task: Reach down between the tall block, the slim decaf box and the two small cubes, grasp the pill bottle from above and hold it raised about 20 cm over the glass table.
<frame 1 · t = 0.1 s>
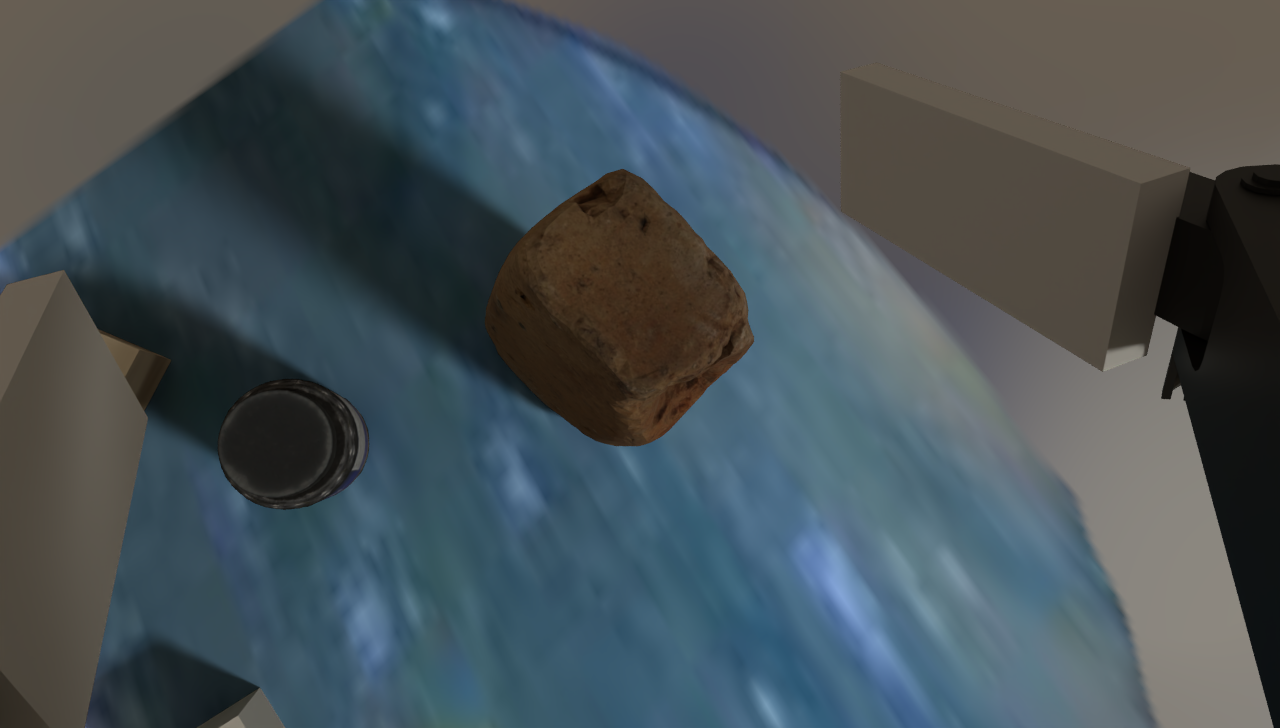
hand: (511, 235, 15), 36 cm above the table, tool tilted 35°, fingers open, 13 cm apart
birch cube: (102, 383, 45), on the table
pill bottle: (314, 444, 47), on the table
block: (576, 354, 51), on the table
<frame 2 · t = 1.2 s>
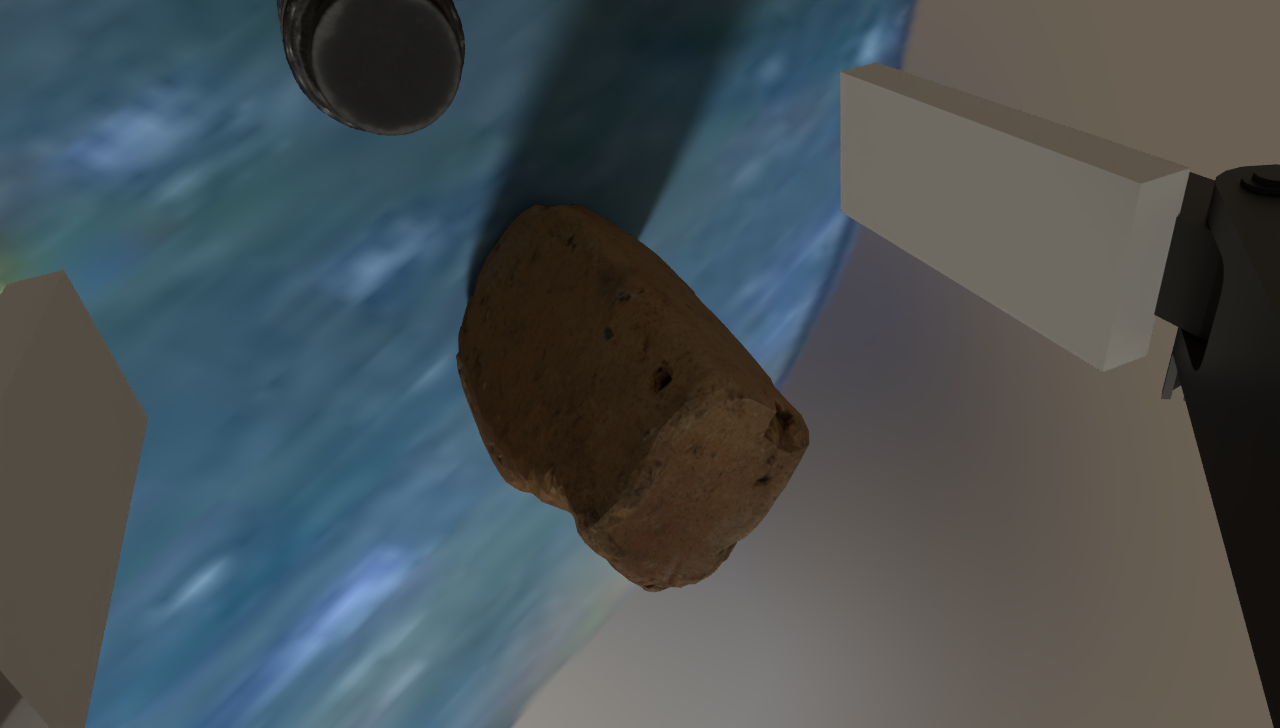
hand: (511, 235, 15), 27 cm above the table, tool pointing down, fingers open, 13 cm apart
pill bottle: (355, 11, 36), on the table
block: (537, 286, 45), on the table
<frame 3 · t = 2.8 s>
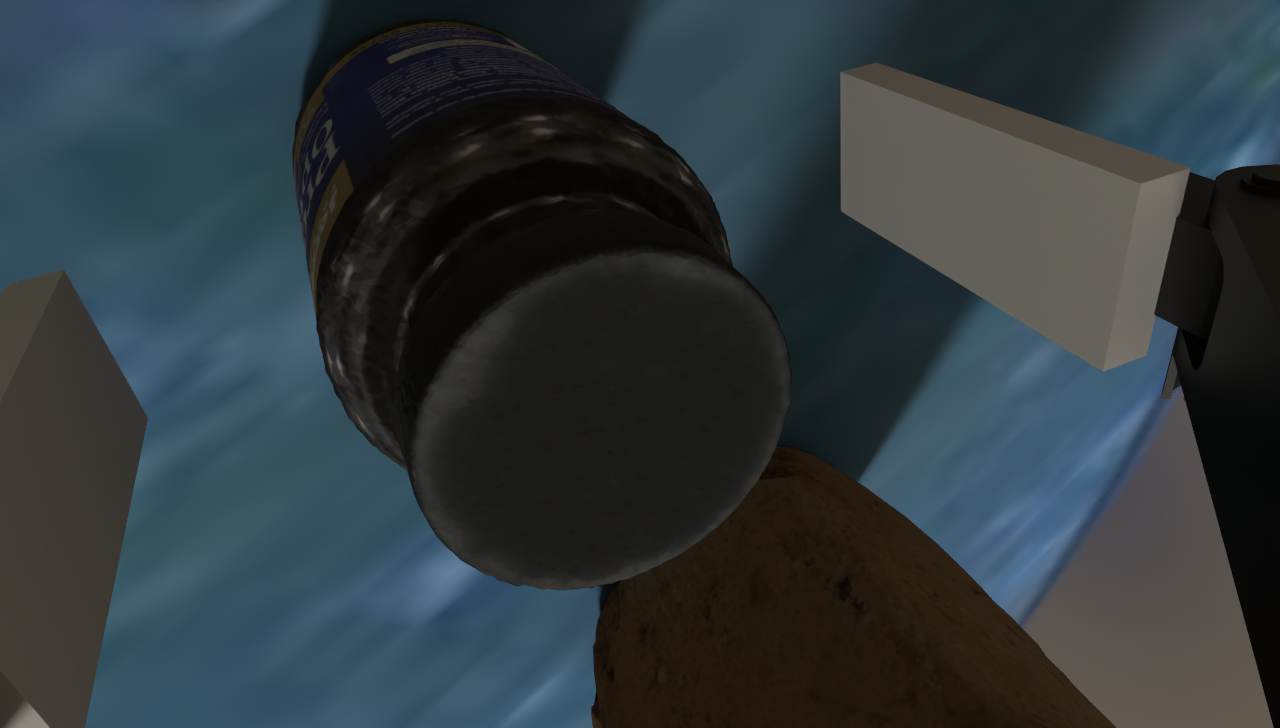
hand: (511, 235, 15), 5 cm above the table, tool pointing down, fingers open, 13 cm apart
pill bottle: (441, 162, 19), on the table
block: (706, 556, 28), on the table
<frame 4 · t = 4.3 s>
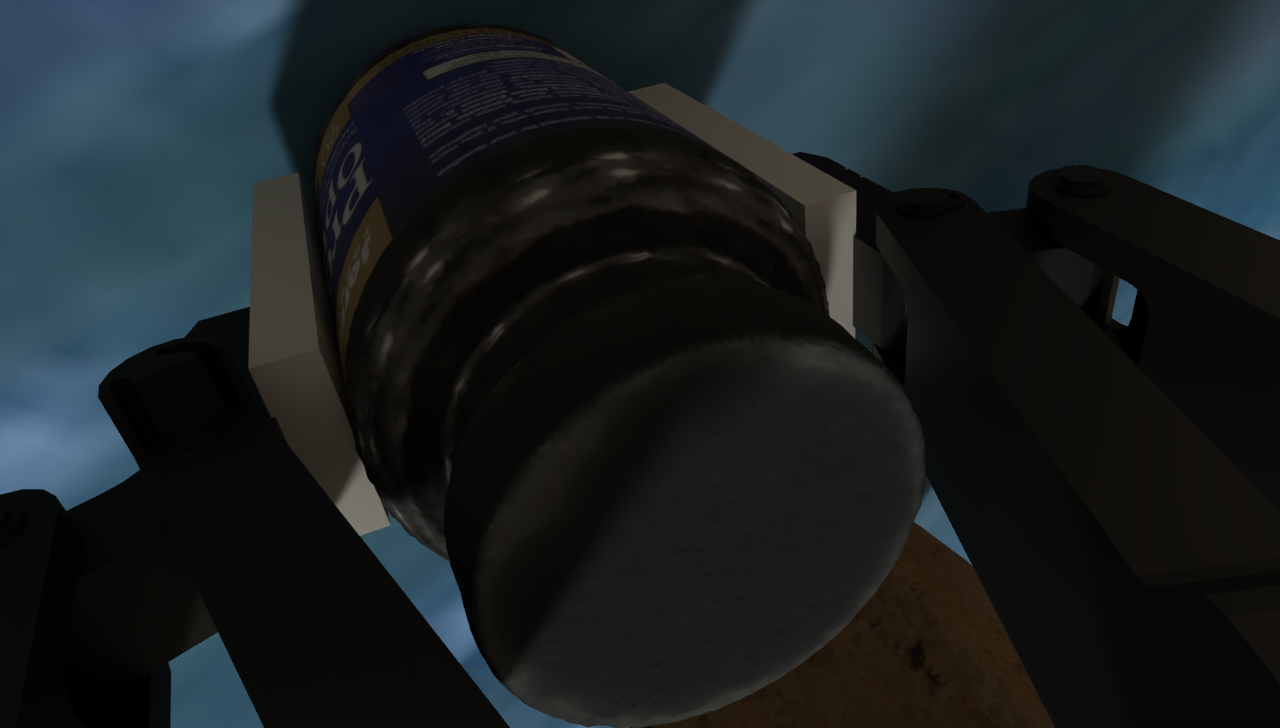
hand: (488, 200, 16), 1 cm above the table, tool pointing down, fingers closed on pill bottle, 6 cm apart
pill bottle: (476, 182, 17), on the table, touching gripper
block: (747, 596, 26), on the table
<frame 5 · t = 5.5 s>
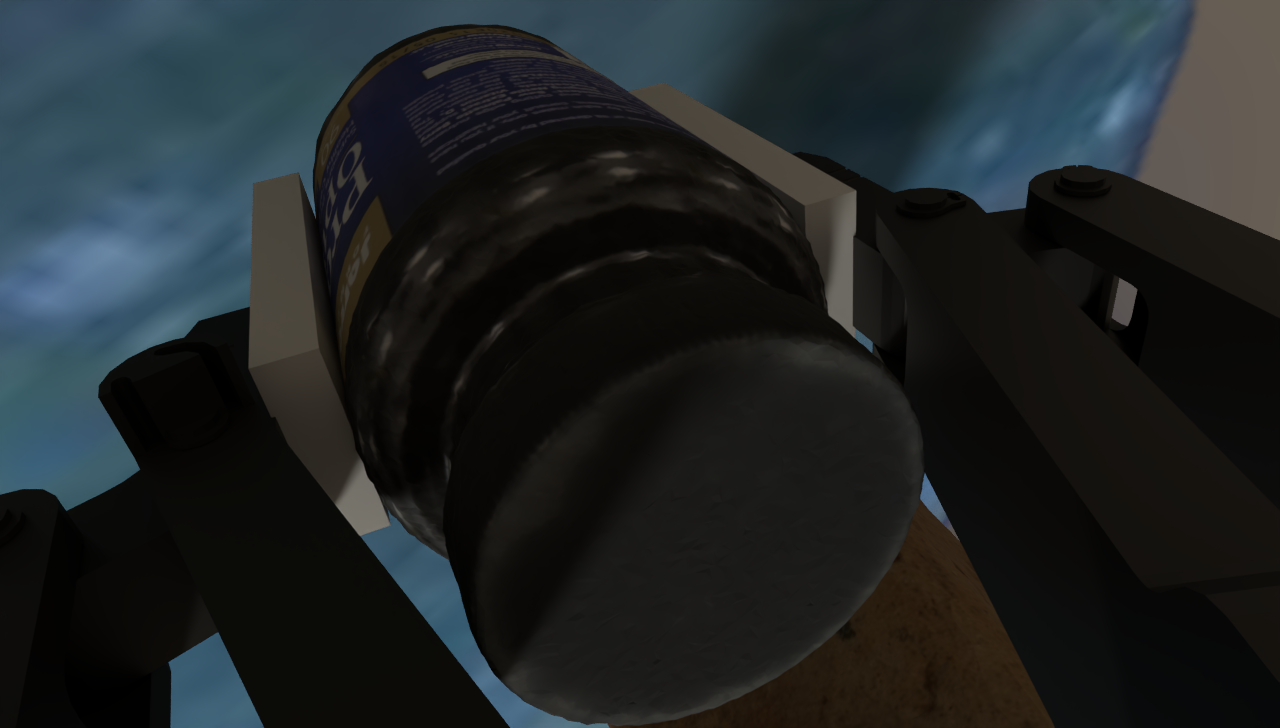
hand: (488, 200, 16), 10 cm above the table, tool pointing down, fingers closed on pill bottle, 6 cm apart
pill bottle: (476, 181, 17), point 8 cm above the table, touching gripper
block: (654, 434, 33), on the table
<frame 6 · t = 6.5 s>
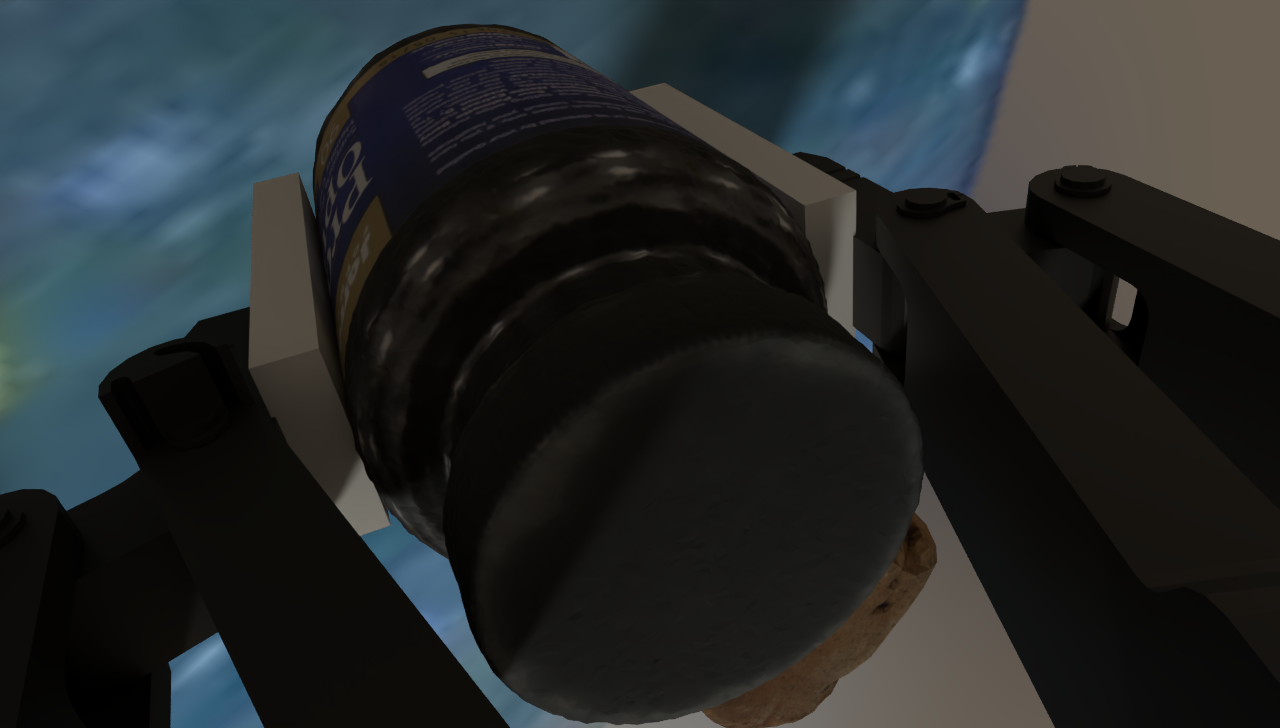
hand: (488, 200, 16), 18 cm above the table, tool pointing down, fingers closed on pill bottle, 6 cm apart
pill bottle: (476, 181, 17), point 17 cm above the table, touching gripper
block: (588, 332, 40), on the table
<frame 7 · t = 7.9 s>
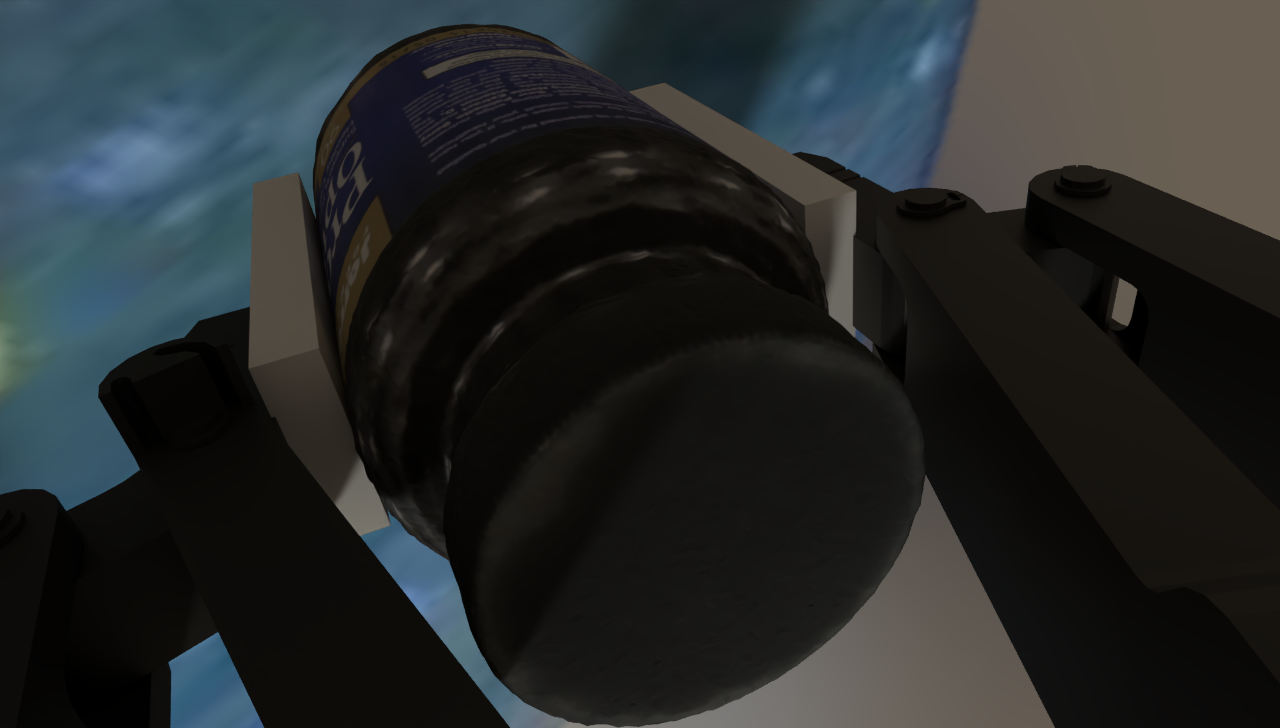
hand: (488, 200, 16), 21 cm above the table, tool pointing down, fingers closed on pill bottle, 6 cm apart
pill bottle: (476, 181, 17), point 20 cm above the table, touching gripper
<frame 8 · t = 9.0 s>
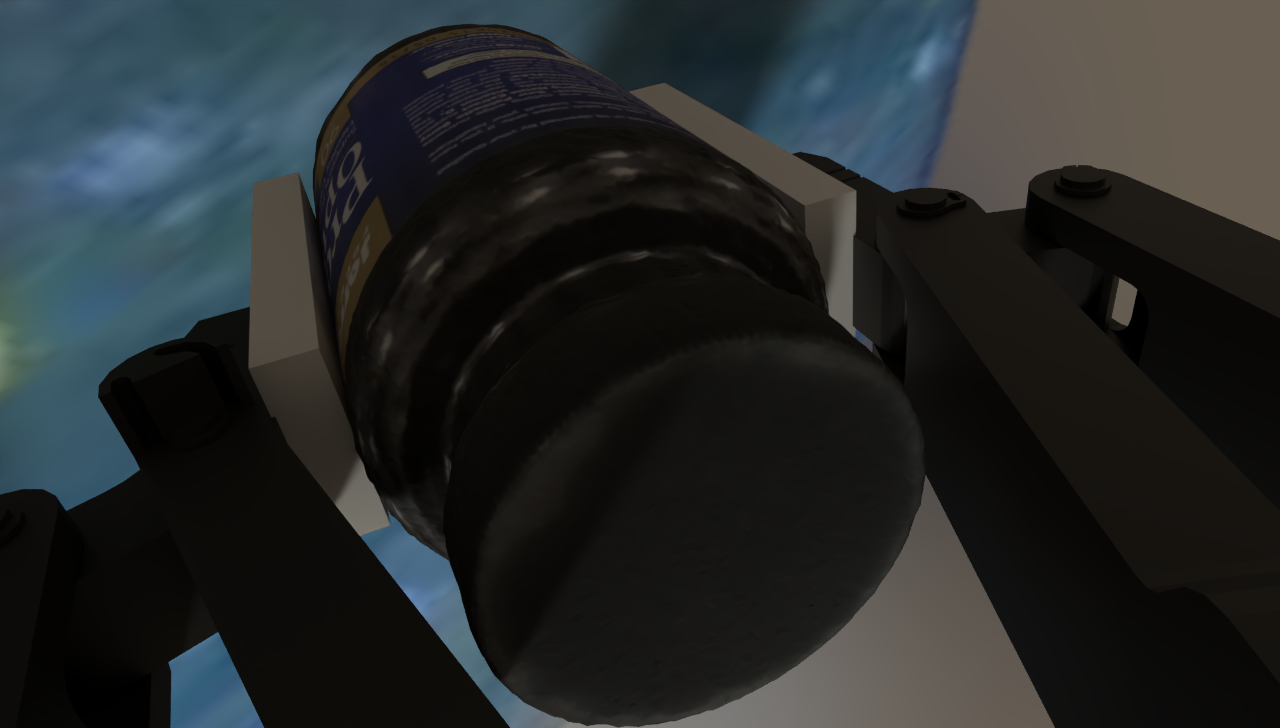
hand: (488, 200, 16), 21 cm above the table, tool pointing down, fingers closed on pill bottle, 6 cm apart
pill bottle: (476, 181, 17), point 20 cm above the table, touching gripper
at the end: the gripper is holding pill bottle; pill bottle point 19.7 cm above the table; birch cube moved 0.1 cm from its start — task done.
